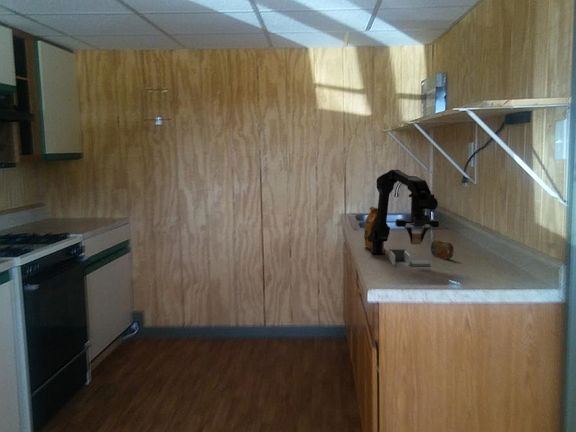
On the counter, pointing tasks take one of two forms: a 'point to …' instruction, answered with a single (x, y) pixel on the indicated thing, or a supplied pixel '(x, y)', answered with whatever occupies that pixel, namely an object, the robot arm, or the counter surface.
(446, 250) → the tin
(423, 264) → the tile
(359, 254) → the counter surface
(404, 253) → the grey open rectangular frame
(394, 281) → the counter surface
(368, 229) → the coffee package
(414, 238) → the block
